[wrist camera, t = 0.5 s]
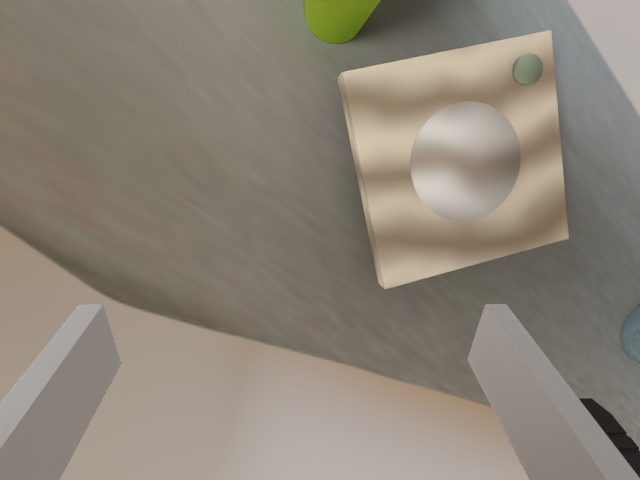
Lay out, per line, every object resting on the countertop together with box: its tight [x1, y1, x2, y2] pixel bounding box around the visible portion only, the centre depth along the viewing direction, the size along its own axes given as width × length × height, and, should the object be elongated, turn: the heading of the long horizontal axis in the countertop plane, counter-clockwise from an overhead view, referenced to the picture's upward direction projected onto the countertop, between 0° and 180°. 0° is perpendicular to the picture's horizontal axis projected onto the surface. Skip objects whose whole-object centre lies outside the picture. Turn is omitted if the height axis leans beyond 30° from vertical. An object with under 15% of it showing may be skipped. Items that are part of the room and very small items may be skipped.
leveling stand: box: [338, 30, 569, 289], centre depth 37 cm, size 20×20×6 cm
